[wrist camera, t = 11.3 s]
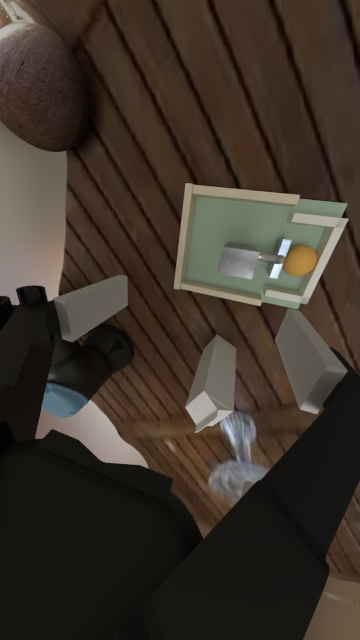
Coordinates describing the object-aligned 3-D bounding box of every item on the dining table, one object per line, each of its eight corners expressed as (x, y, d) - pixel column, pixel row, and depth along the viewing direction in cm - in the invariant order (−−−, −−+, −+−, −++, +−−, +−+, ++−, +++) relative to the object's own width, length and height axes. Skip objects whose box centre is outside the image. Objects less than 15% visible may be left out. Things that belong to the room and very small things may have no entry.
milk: (236, 347, 46) (234, 429, 27) (221, 361, 49) (210, 444, 30) (216, 333, 46) (200, 406, 27) (203, 348, 49) (179, 423, 30)
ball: (312, 278, 32) (284, 271, 35) (327, 248, 30) (295, 243, 33) (302, 281, 29) (272, 272, 32) (317, 247, 27) (283, 242, 30)
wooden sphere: (119, 93, 32) (36, -1, 19) (89, 180, 39) (14, 156, 26) (50, 25, 30) (-89, -125, 18) (33, 128, 38) (-74, 76, 25)
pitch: (180, 282, 43) (173, 288, 38) (193, 189, 34) (185, 183, 30) (295, 306, 38) (303, 316, 33) (342, 204, 29) (361, 199, 25)
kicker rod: (224, 264, 37) (214, 284, 23) (232, 231, 34) (226, 231, 20) (273, 273, 35) (295, 301, 21) (286, 239, 32) (320, 245, 18)
